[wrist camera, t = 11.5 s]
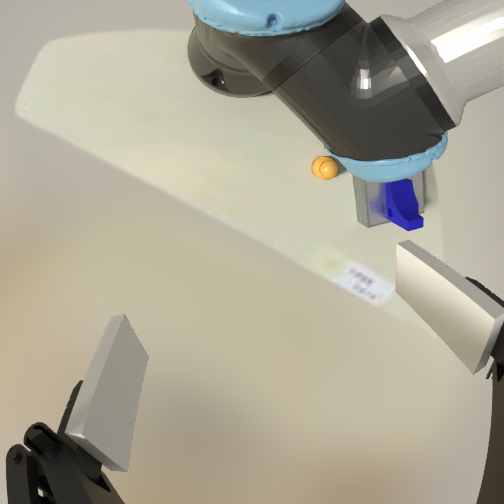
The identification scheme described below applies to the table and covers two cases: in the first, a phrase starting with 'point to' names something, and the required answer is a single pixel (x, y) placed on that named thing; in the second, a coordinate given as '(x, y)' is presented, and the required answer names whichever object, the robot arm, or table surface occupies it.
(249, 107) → the table surface
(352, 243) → the table surface
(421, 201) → the grey square plate
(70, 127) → the table surface
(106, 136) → the table surface
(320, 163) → the chess pawn
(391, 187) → the cable clip
